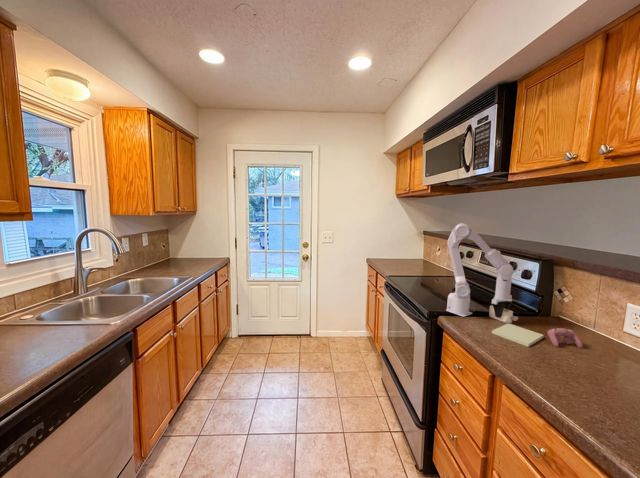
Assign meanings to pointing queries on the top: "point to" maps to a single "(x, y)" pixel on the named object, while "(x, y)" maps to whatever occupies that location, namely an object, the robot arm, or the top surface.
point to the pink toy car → (567, 334)
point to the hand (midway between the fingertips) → (500, 316)
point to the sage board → (518, 334)
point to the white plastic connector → (503, 315)
